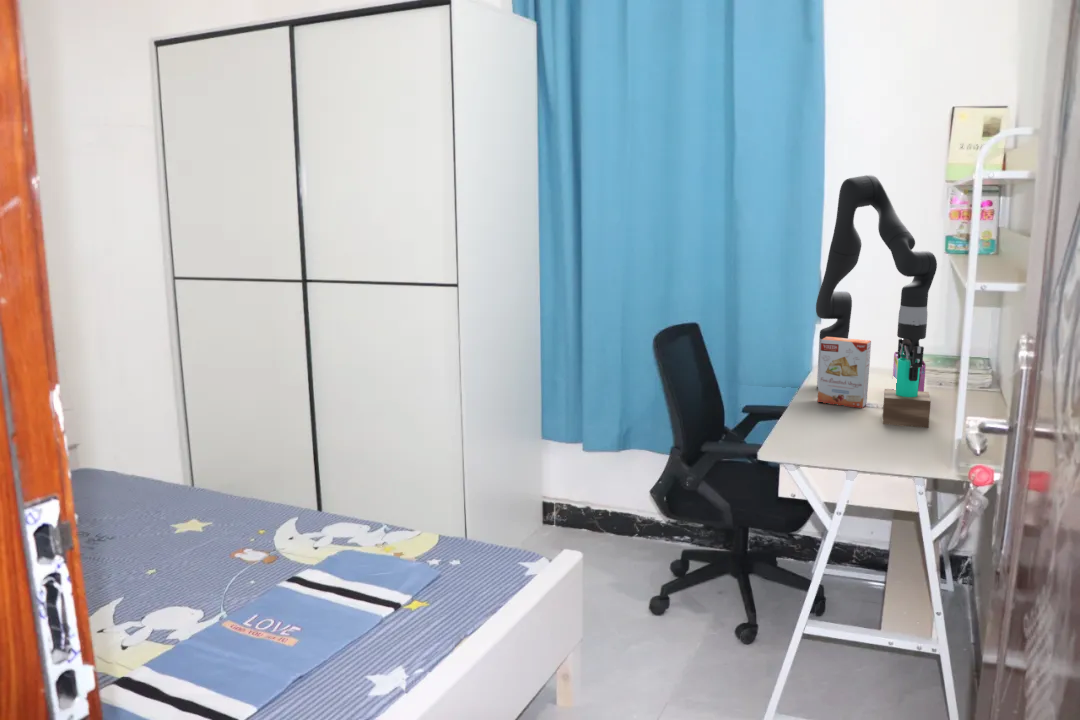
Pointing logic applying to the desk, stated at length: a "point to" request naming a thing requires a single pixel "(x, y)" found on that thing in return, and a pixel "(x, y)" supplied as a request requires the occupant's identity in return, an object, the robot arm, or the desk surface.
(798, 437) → the desk surface
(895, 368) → the gum box
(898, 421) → the walnut block
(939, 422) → the desk surface
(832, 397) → the cracker box
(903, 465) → the desk surface
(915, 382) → the candle
